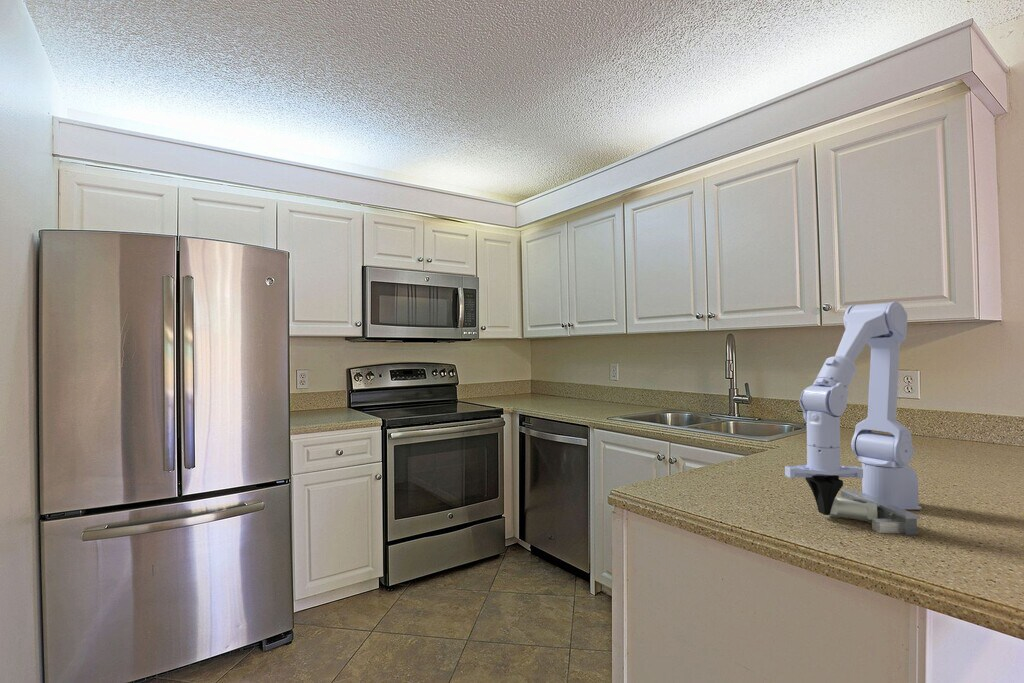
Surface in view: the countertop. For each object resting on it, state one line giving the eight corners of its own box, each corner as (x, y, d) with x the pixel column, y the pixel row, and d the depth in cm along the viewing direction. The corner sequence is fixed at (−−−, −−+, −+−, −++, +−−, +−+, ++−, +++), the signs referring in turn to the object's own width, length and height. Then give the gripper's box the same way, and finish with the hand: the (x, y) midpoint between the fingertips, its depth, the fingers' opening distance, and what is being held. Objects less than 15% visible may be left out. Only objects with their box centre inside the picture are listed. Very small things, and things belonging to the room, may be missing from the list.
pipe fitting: (828, 511, 105) (828, 518, 100) (828, 493, 106) (828, 498, 100) (875, 518, 101) (877, 525, 95) (874, 499, 101) (877, 505, 96)
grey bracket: (853, 504, 109) (852, 488, 109) (920, 535, 91) (919, 515, 91) (822, 504, 109) (822, 488, 109) (884, 535, 91) (883, 516, 91)
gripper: (846, 441, 104) (847, 507, 104) (776, 441, 104) (777, 507, 104) (870, 448, 97) (871, 518, 97) (795, 448, 97) (796, 518, 97)
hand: (824, 513), depth 100 cm, fingers closed
